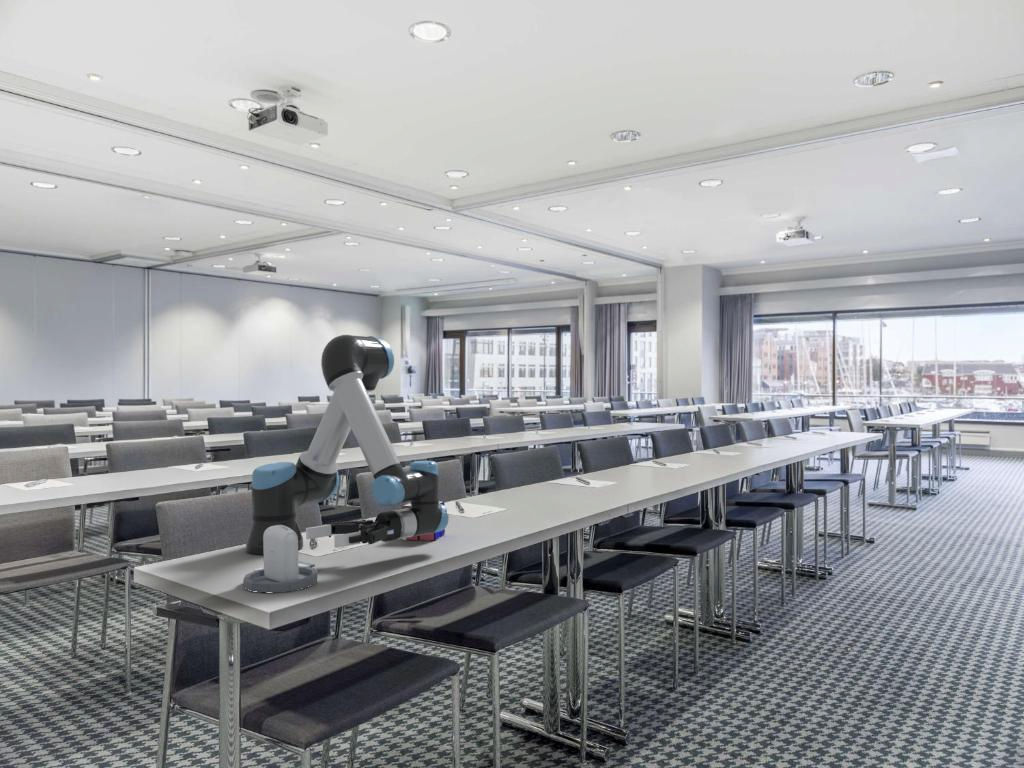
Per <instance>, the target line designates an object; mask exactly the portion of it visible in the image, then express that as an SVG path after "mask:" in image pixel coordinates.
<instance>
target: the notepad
mask: <svg viewBox="0 0 1024 768" xmlns="http://www.w3.org/2000/svg"><path fill="white" fill-rule="evenodd" d="M298 566H304V567H310V568H312V567H311V566H314V567H316V566H315V563H312V562H311V563H310V562H308V561H307V562H306V561H302V560H298ZM261 569H264V566H263V567H260V568H255V569H253V572H254V571H256V570H261Z"/></svg>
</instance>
